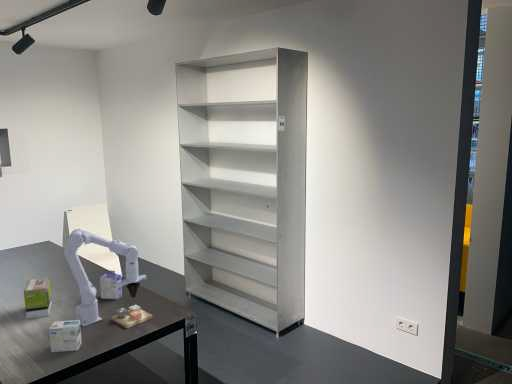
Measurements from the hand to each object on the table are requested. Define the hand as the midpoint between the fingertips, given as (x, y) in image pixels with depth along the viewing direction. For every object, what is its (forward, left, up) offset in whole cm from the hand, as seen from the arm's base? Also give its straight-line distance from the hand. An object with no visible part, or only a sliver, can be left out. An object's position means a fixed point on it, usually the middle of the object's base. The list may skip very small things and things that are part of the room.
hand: (133, 296), depth 205 cm
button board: (-3, -3, -9) cm, 10 cm away
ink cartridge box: (+4, +27, -10) cm, 29 cm away
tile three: (-6, 0, -7) cm, 10 cm away
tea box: (-29, +38, -10) cm, 49 cm away
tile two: (+1, 0, -8) cm, 8 cm away
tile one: (-3, -6, -8) cm, 10 cm away
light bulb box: (-36, -6, -10) cm, 38 cm away
